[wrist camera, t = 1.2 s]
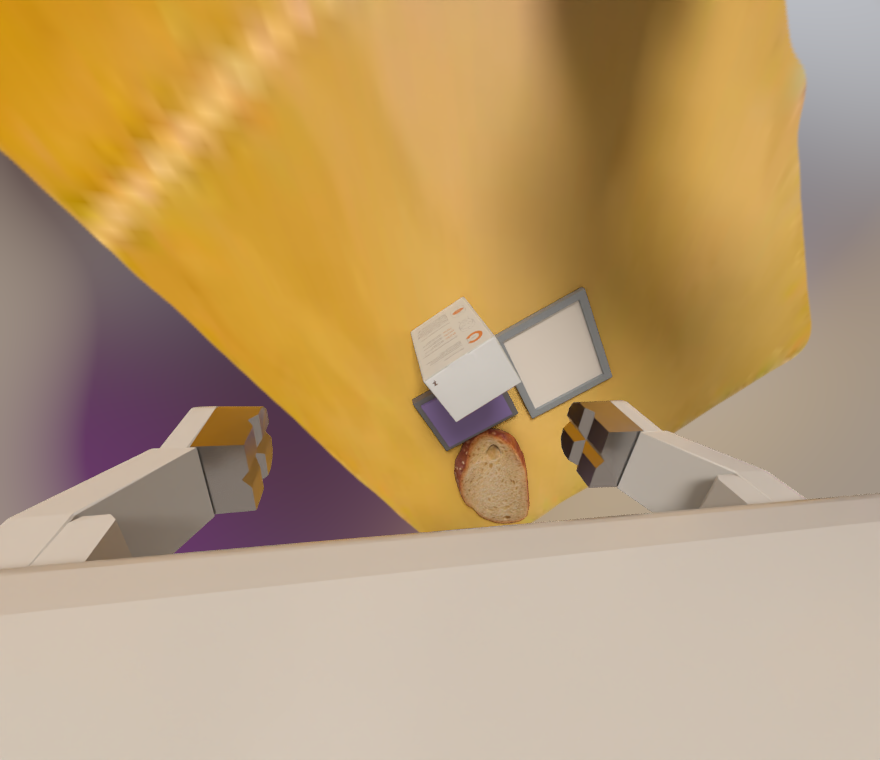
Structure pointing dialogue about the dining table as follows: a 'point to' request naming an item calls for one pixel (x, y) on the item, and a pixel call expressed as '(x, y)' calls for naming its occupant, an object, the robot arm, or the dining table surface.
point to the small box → (462, 360)
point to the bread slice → (493, 476)
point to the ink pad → (467, 427)
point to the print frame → (556, 353)
